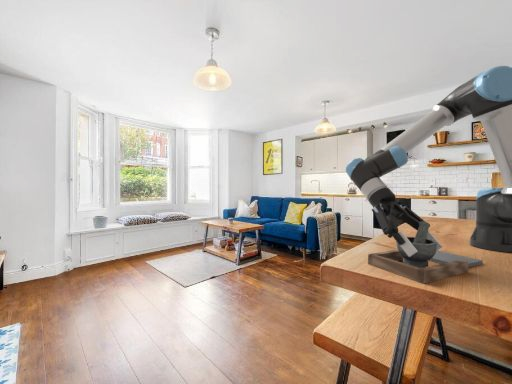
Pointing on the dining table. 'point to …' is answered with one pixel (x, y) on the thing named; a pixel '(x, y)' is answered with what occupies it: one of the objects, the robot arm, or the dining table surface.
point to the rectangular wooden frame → (424, 275)
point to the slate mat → (453, 258)
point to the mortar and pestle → (420, 248)
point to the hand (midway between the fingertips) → (426, 251)
